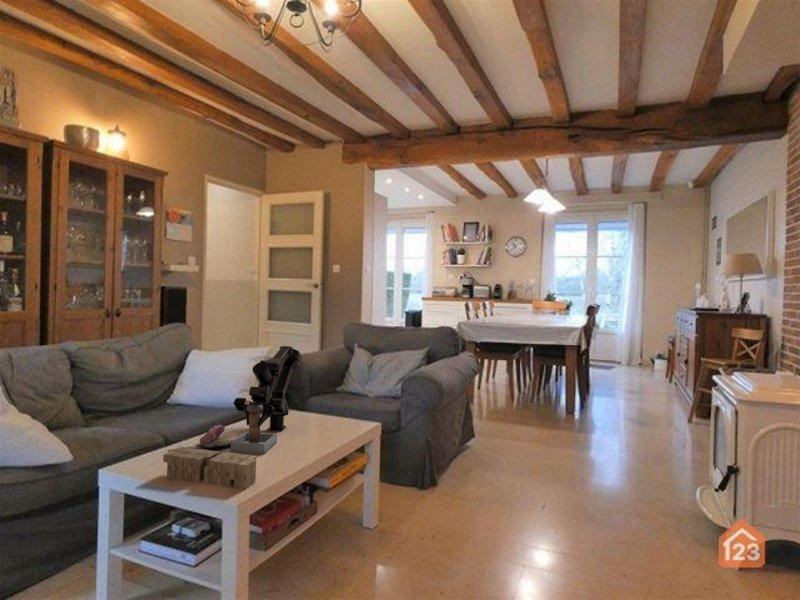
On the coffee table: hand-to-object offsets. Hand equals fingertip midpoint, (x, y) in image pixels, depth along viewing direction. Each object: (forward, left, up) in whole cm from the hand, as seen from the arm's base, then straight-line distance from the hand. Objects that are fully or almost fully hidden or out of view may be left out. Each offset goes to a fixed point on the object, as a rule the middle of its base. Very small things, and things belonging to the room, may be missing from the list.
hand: (253, 425), depth 178 cm
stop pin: (-1, 0, -7) cm, 7 cm away
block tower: (+29, -1, -9) cm, 30 cm away
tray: (-1, 0, -9) cm, 9 cm away
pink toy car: (-7, -19, -9) cm, 22 cm away
